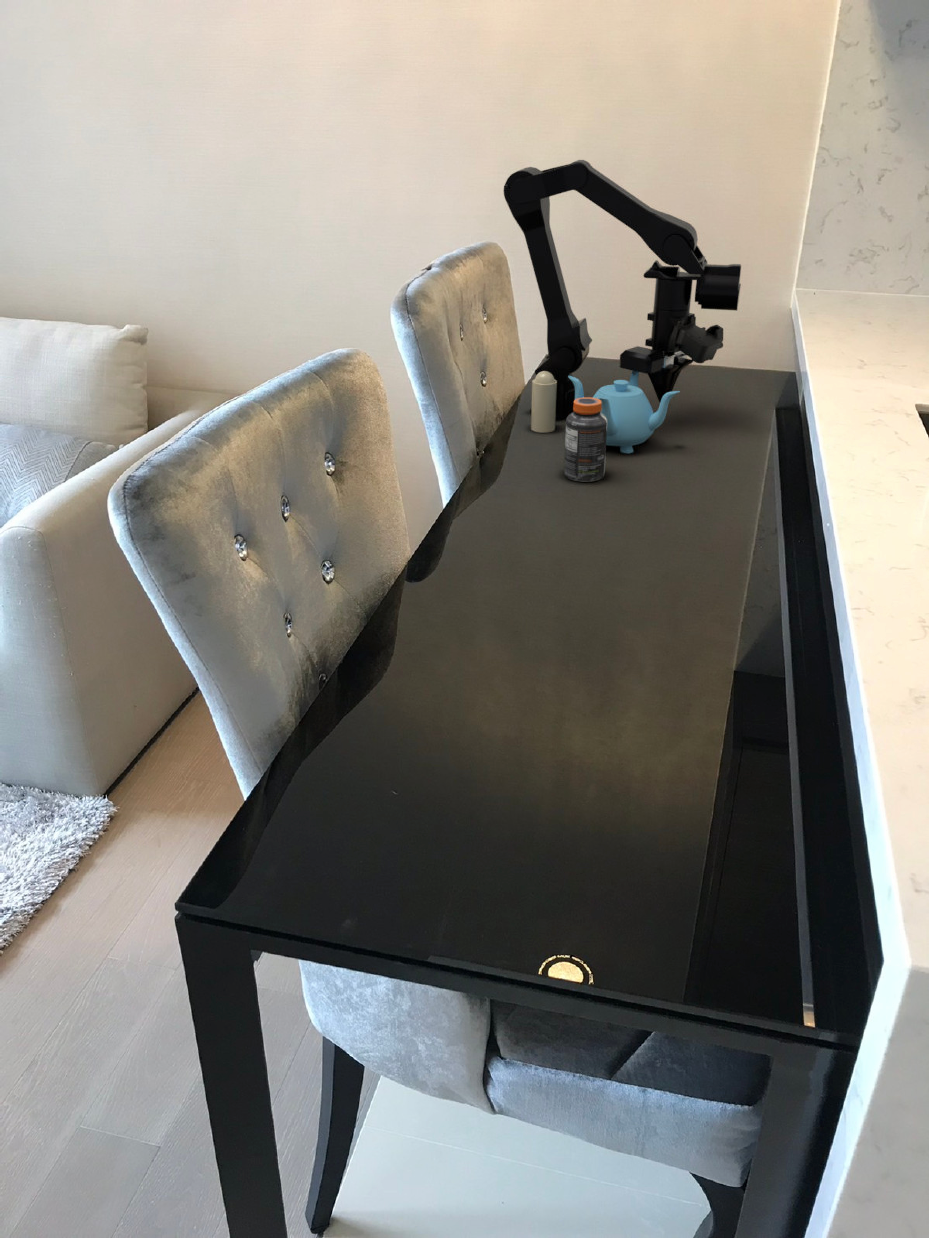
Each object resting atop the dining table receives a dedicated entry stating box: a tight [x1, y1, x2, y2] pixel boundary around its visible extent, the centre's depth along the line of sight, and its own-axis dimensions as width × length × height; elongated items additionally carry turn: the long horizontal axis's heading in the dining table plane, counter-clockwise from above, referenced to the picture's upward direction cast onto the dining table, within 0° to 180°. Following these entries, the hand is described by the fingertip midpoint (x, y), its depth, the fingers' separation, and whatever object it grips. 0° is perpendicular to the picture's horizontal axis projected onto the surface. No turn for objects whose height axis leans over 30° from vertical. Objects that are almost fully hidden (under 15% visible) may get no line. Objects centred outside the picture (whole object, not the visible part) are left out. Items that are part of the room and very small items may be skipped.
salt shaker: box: [530, 371, 557, 434], centre depth 163 cm, size 4×4×10 cm
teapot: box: [568, 370, 681, 454], centre depth 156 cm, size 13×13×10 cm
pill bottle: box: [563, 396, 607, 483], centre depth 144 cm, size 6×6×11 cm
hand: (663, 403), depth 167 cm, fingers closed
